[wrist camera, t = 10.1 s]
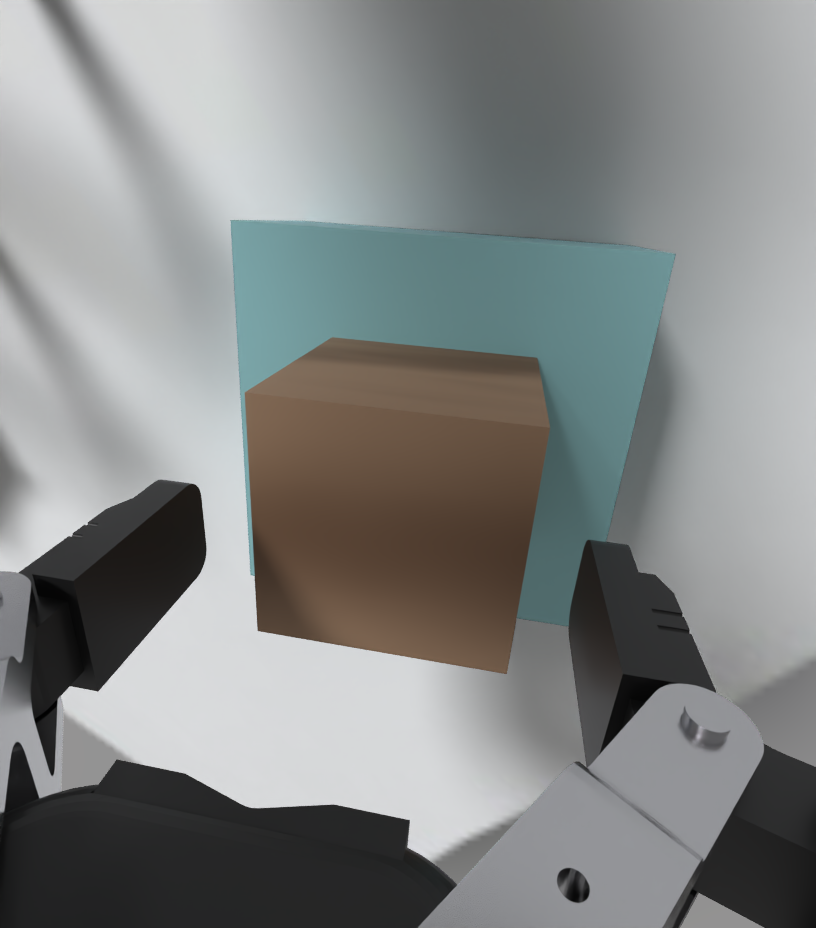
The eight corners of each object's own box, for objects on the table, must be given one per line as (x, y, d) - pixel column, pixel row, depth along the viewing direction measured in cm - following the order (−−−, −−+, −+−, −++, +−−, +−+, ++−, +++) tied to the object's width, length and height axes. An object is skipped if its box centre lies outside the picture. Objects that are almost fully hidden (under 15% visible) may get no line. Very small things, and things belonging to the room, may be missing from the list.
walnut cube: (332, 337, 17) (244, 392, 11) (537, 357, 16) (550, 427, 10) (330, 514, 19) (258, 630, 14) (508, 539, 18) (506, 673, 13)
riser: (302, 221, 21) (230, 220, 16) (630, 245, 20) (675, 253, 14) (305, 501, 26) (250, 575, 21) (569, 539, 25) (584, 628, 19)
